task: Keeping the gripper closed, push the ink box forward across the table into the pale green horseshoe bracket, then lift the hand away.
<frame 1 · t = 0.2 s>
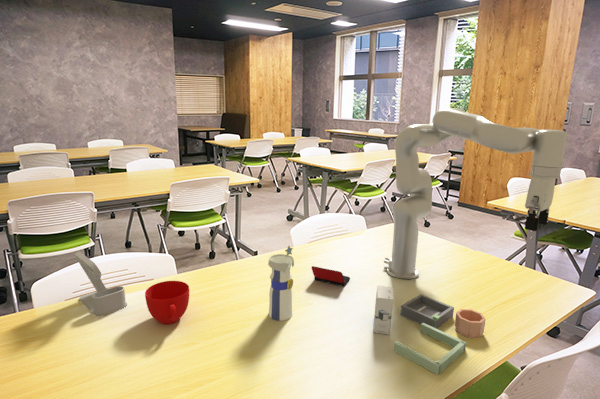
hand: (535, 226, 118), 31 cm above the table, tool pointing down, fingers open, 9 cm apart
ceramic cup: (170, 322, 120), on the table
water bottle: (281, 314, 125), on the table
handheld game console: (330, 282, 149), on the table
grey hollow angled piece: (103, 303, 130), on the table
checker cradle: (426, 316, 126), on the table
pale green horseshoe bracket: (429, 350, 108), on the table
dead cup: (468, 330, 118), on the table
ink box: (382, 326, 119), on the table
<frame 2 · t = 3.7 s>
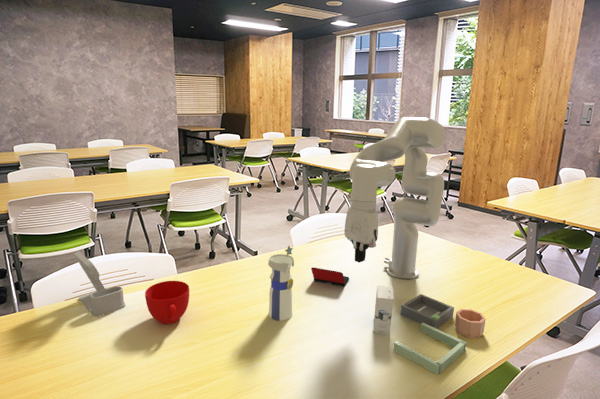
hand: (359, 260, 122), 19 cm above the table, tool pointing down, fingers closed
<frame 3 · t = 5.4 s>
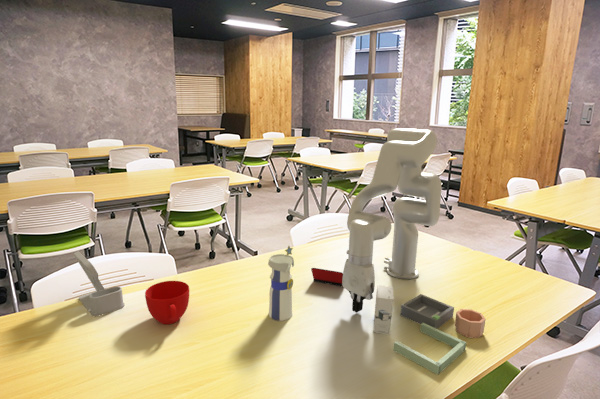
hand: (357, 310, 126), 1 cm above the table, tool pointing down, fingers closed
nothing on the table moved.
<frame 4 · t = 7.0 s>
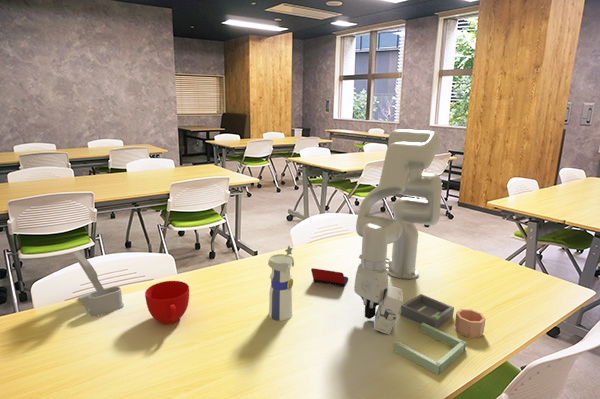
hand: (369, 316, 122), 1 cm above the table, tool pointing down, fingers closed
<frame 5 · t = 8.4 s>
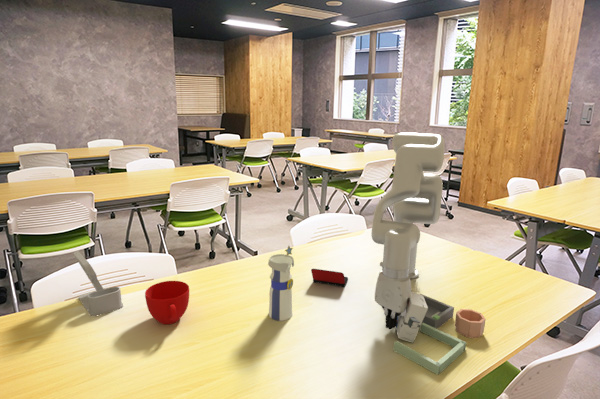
hand: (390, 327, 116), 1 cm above the table, tool pointing down, fingers closed
ink box: (404, 333, 115), on the table, touching gripper
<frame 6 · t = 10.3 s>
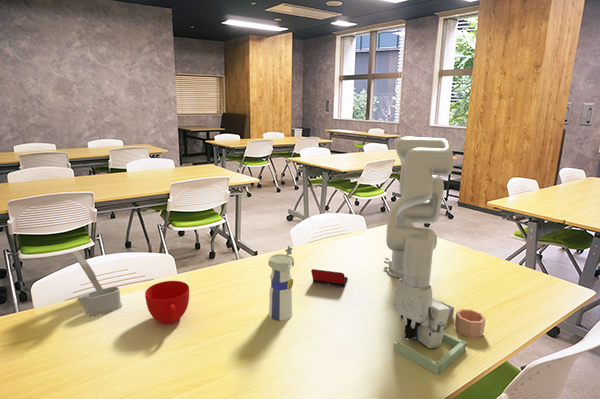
hand: (410, 337, 112), 1 cm above the table, tool pointing down, fingers closed
ink box: (424, 340, 112), on the table, touching gripper, pale green horseshoe bracket
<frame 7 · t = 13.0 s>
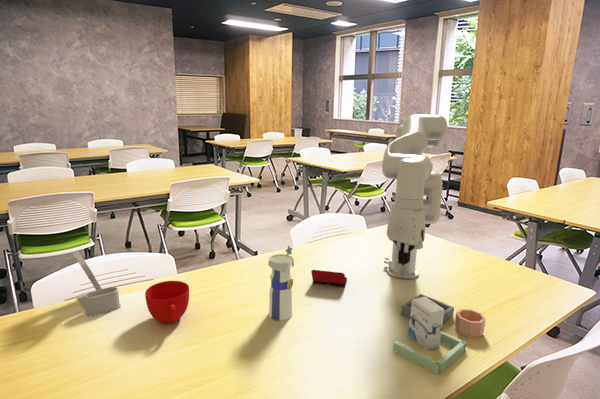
hand: (403, 263, 113), 22 cm above the table, tool pointing down, fingers closed
ink box: (423, 341, 113), on the table
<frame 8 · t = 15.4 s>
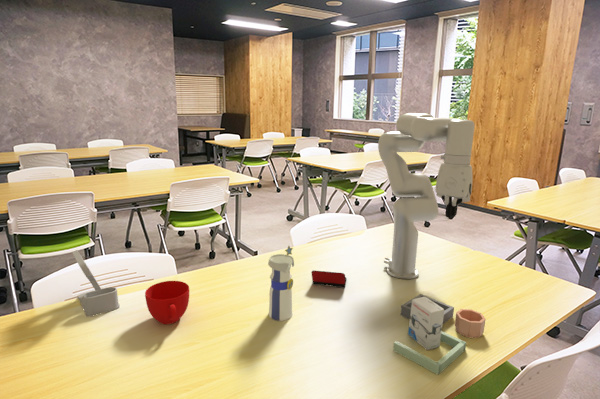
hand: (450, 216, 124), 32 cm above the table, tool pointing down, fingers closed
at the end: ink box inside the target area on the pale green horseshoe bracket (4.2 cm from its centre), point 0.0 cm above the pale green horseshoe bracket's base; ink box tilted 0°; ink box moved 12.8 cm from its start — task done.
